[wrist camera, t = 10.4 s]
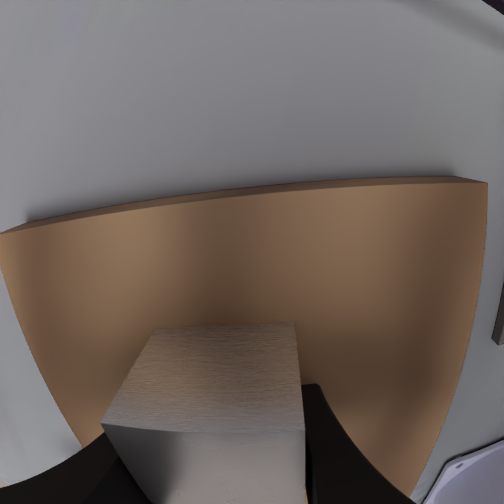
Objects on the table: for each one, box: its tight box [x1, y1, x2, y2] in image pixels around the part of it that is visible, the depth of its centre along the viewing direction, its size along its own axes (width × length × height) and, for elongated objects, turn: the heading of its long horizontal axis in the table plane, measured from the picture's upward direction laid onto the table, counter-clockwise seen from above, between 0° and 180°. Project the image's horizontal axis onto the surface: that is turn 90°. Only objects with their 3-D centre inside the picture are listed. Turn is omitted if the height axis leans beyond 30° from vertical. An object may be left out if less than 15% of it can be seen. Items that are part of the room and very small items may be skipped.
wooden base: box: [0, 176, 488, 504], centre depth 9 cm, size 16×16×6 cm
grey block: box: [100, 321, 305, 504], centre depth 8 cm, size 4×6×4 cm, turn 6°
